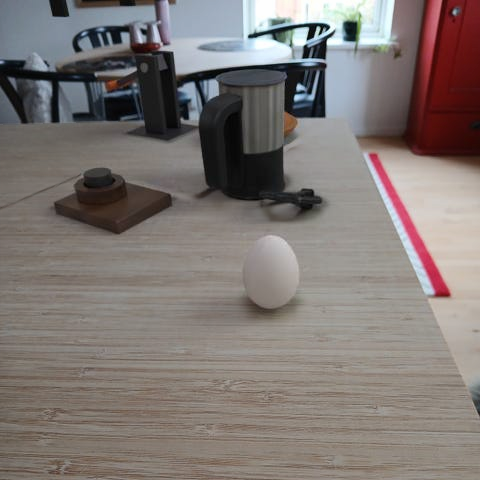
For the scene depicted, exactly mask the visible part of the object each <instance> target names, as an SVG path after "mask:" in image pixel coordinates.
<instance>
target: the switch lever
mask: <svg viewBox="0 0 480 480" xmlns="http://www.w3.org/2000/svg"><path fill="white" fill-rule="evenodd" d="M156 56H158V63H159V71H160V72H161V71H163V70H165V69H167V65H166V62H165V60H164V57H163V54H159V55H156ZM136 79H138V75H137V70H134V71H133V72H130V73H129V74H126V75H125V76H123V77H120V78H118V79H114V80H110V81H107V82H105V84H104V87H105V89H106V91H108V92H111V91H114V90H119V89H121V88H125V87H128V86H130V84H131V82H132V81H135V80H136Z"/></svg>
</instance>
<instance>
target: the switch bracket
mask: <svg viewBox="0 0 480 480" xmlns="http://www.w3.org/2000/svg"><path fill="white" fill-rule="evenodd" d="M159 54H163V57H164V60H165V62H166V65H167V69H165V70H163V71H161V72H160V71H159V63H158V56H156V55H159ZM134 60H135V67H136V71H137V75H138V78H137V81H138V88H139V94H140V101H141V109H142V115H143V122H144V125H142V126H140V127H137V128H135V129H132V130H129V131H127V134H131V135H136V136H142V137H146V138H151V139H157V140H161V141H167V142H169V141H171V140H173V139H176V138H178V137H180V136H183V135H185V134H187V133H190V132H192V131H194V130H197V129H199V125H195V124H193V125H192V124H187V123H182V121H181V119H182V118H181V110H180V101H179V100H180V99H179V91H178V82H177V73H176V72H177V71H176V63H175V62H176V61H175V54H174V51H170V50H158V49H153V50H150V54H146V53H145V54H144V53H143V54H142V53H137V54H134Z"/></svg>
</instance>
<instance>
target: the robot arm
mask: <svg viewBox="0 0 480 480" xmlns="http://www.w3.org/2000/svg"><path fill="white" fill-rule="evenodd" d="M48 1H49V3H48V4H49V7H50V12H51V16H52V17H53V18H69V17H71V16H70V12H69V7H68V1H67V0H48ZM118 1H119V7H135V6H136V5H137V4H136V0H118Z"/></svg>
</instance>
